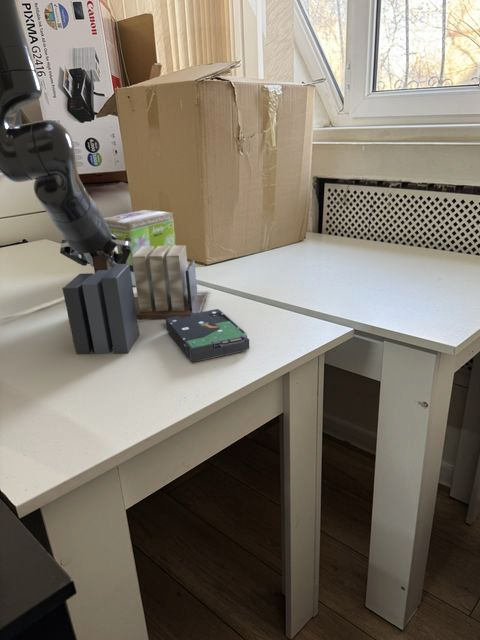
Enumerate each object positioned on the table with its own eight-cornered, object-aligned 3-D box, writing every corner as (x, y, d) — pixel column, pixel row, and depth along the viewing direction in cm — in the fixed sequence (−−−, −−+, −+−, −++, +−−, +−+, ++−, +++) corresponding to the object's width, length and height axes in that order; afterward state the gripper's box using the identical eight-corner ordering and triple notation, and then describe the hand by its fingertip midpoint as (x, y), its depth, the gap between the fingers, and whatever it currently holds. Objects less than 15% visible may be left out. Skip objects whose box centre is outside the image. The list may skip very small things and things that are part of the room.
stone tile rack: (85, 320, 98) (74, 260, 93) (102, 301, 108) (93, 245, 103) (198, 318, 97) (193, 257, 92) (205, 299, 107) (201, 243, 102)
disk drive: (165, 332, 92) (191, 363, 80) (164, 318, 91) (190, 347, 79) (219, 322, 96) (251, 350, 84) (218, 308, 95) (250, 334, 82)
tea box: (136, 287, 116) (127, 222, 110) (106, 281, 121) (95, 218, 115) (179, 270, 128) (173, 210, 121) (150, 265, 133) (142, 208, 126)
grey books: (128, 353, 84) (116, 277, 79) (75, 354, 84) (60, 278, 79) (139, 334, 91) (129, 263, 86) (91, 335, 92) (78, 264, 86)
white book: (113, 304, 98) (103, 247, 93) (100, 304, 98) (90, 248, 93) (124, 290, 105) (116, 238, 101) (112, 291, 105) (103, 238, 101)
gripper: (122, 200, 86) (147, 253, 103) (41, 203, 87) (79, 255, 103) (118, 238, 84) (145, 286, 100) (35, 241, 84) (75, 288, 101)
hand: (111, 270), depth 101 cm, fingers closed on white book, 2 cm apart
